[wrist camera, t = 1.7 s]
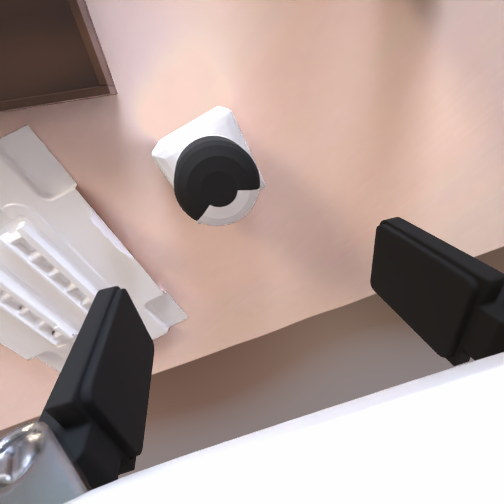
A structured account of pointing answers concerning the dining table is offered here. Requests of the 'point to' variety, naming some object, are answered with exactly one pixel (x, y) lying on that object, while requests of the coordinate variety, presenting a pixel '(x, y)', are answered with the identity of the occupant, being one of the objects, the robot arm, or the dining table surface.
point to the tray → (59, 257)
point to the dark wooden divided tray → (49, 54)
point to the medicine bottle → (210, 168)
